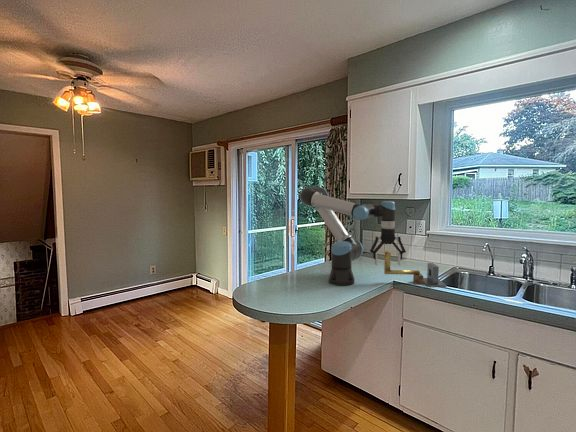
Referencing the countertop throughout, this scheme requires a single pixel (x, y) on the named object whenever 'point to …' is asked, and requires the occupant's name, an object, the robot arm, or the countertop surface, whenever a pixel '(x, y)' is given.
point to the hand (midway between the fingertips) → (387, 264)
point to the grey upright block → (433, 276)
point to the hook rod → (387, 270)
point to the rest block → (418, 279)
